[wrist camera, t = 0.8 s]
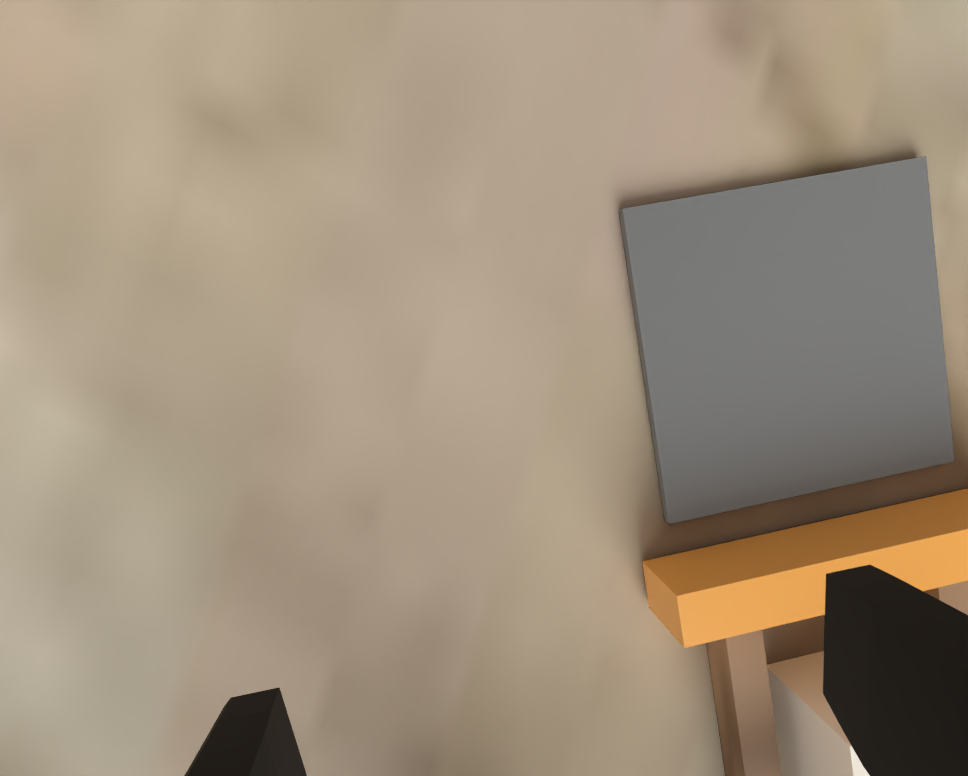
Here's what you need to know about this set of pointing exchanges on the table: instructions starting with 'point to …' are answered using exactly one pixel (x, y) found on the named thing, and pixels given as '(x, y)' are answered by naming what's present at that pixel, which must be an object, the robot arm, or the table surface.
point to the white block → (808, 722)
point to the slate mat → (789, 336)
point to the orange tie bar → (805, 567)
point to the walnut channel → (763, 695)
